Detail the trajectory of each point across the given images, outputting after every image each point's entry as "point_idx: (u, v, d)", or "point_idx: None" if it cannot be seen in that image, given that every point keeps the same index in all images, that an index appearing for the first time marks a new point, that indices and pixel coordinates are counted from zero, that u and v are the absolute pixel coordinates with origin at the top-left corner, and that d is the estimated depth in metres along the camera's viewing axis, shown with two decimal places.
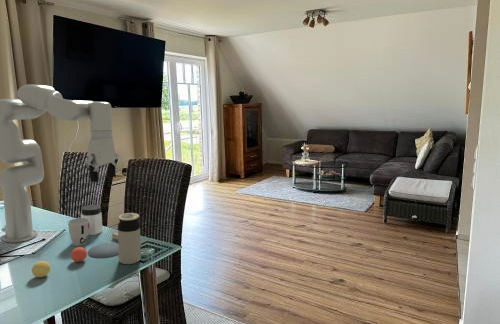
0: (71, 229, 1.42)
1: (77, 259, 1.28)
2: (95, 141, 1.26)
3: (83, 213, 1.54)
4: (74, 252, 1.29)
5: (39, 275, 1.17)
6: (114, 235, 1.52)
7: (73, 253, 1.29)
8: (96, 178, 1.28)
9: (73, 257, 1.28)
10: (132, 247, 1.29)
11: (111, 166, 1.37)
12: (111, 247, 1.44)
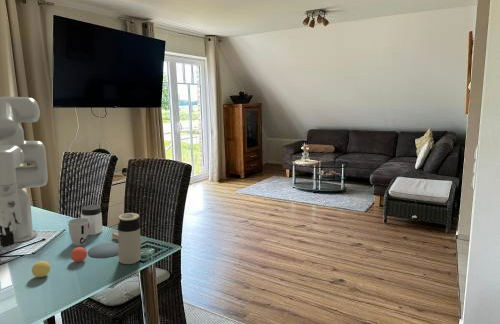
0: (71, 229, 1.42)
1: (77, 259, 1.28)
2: None
3: (83, 213, 1.54)
4: (74, 252, 1.29)
5: (39, 275, 1.17)
6: (114, 235, 1.52)
7: (73, 253, 1.29)
8: None
9: (73, 257, 1.28)
10: (132, 247, 1.29)
11: None
12: (111, 247, 1.44)
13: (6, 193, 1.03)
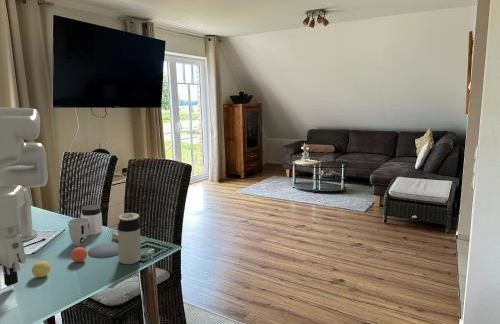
0: (71, 229, 1.42)
1: (77, 259, 1.28)
2: None
3: (83, 213, 1.54)
4: (74, 252, 1.29)
5: (39, 275, 1.17)
6: (114, 235, 1.52)
7: (73, 253, 1.29)
8: None
9: (73, 257, 1.28)
10: (132, 247, 1.29)
11: None
12: (111, 247, 1.44)
13: (10, 235, 1.06)
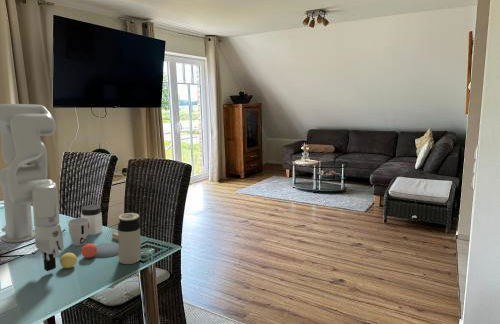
0: (71, 229, 1.42)
1: (90, 247, 1.33)
2: None
3: (83, 213, 1.54)
4: (93, 244, 1.35)
5: (74, 258, 1.26)
6: (114, 235, 1.52)
7: (92, 244, 1.35)
8: None
9: (89, 244, 1.34)
10: (132, 247, 1.29)
11: None
12: (111, 247, 1.44)
13: (51, 224, 1.16)
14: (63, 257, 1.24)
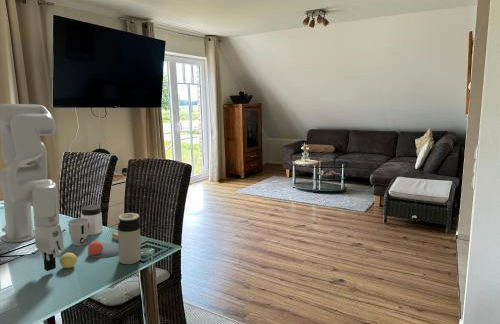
0: (71, 229, 1.42)
1: (101, 244, 1.37)
2: None
3: (83, 213, 1.54)
4: None
5: (74, 258, 1.26)
6: (114, 235, 1.52)
7: None
8: None
9: (101, 243, 1.38)
10: (132, 247, 1.29)
11: None
12: (111, 247, 1.44)
13: (51, 224, 1.16)
14: (63, 257, 1.24)
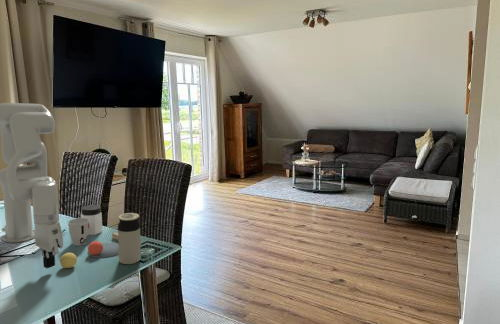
0: (71, 229, 1.42)
1: (101, 244, 1.37)
2: None
3: (83, 213, 1.54)
4: None
5: (74, 258, 1.26)
6: (114, 235, 1.52)
7: None
8: None
9: (101, 243, 1.38)
10: (132, 247, 1.29)
11: None
12: (111, 247, 1.44)
13: (51, 222, 1.16)
14: (63, 257, 1.24)
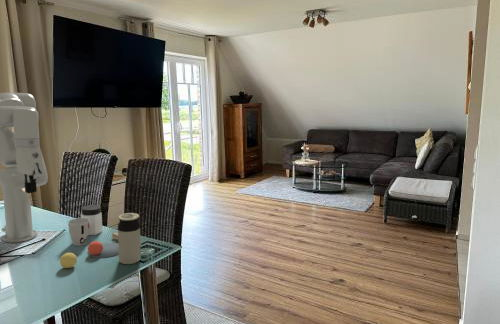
0: (71, 229, 1.42)
1: (101, 244, 1.37)
2: None
3: (83, 213, 1.54)
4: None
5: (74, 258, 1.26)
6: (114, 235, 1.52)
7: None
8: None
9: (101, 243, 1.38)
10: (132, 247, 1.29)
11: None
12: (111, 247, 1.44)
13: (31, 145, 1.21)
14: (63, 257, 1.24)
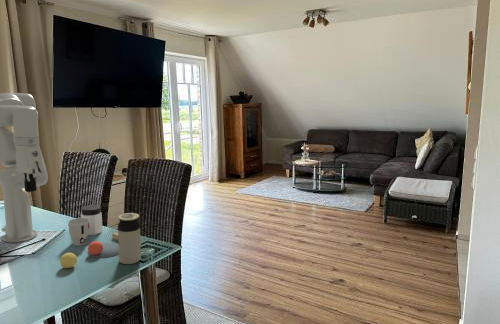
0: (71, 229, 1.42)
1: (101, 244, 1.37)
2: None
3: (83, 213, 1.54)
4: None
5: (74, 258, 1.26)
6: (114, 235, 1.52)
7: None
8: None
9: (101, 243, 1.38)
10: (132, 247, 1.29)
11: None
12: (111, 247, 1.44)
13: (31, 144, 1.21)
14: (63, 257, 1.24)
